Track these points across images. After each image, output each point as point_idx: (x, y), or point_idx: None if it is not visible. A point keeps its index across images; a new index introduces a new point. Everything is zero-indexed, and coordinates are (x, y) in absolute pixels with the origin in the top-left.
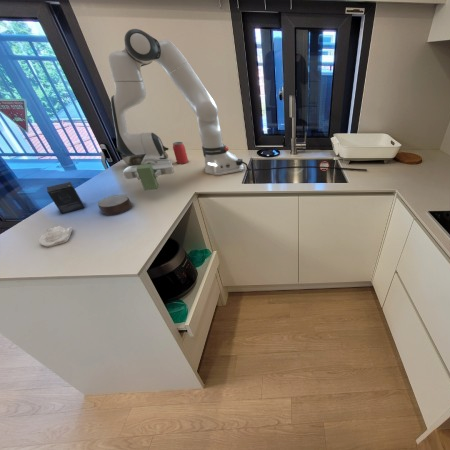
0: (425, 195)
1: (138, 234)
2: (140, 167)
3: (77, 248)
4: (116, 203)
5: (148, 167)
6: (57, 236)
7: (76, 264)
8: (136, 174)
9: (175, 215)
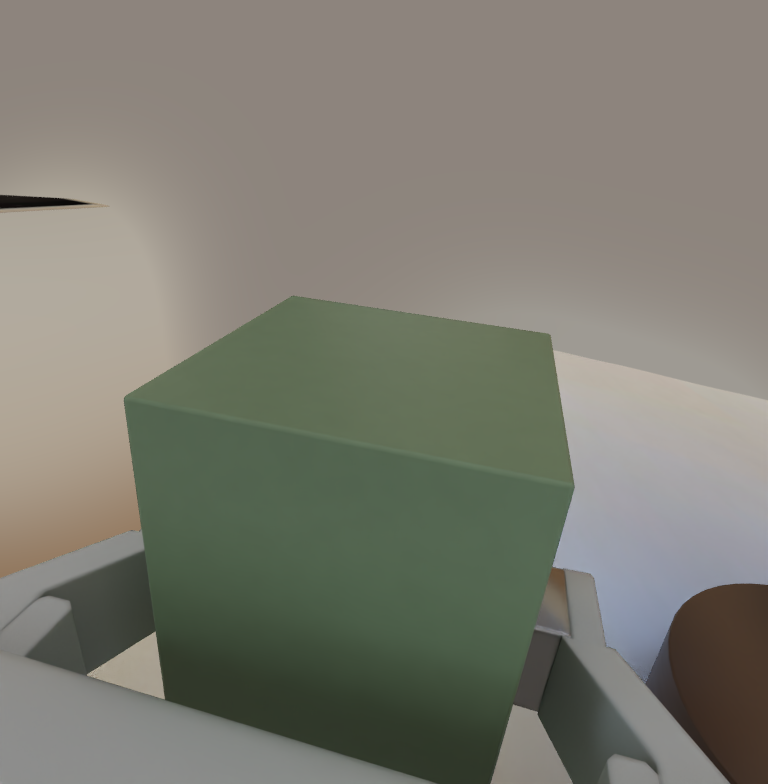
0: None
1: None
2: (470, 346)
3: (729, 442)
4: (758, 619)
5: (305, 303)
6: None
7: (661, 388)
8: (650, 708)
9: None
